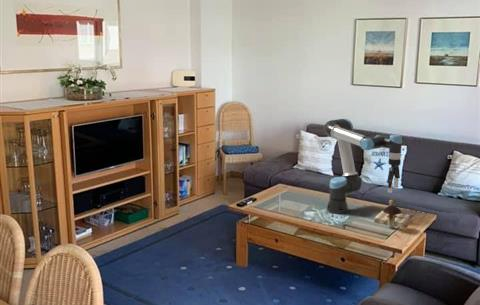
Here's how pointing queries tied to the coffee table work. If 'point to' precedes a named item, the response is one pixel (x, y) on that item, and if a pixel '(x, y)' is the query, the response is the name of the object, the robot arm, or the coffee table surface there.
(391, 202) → the peg
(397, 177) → the robot arm
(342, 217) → the coffee table surface
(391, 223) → the decorative mushroom
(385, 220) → the board
